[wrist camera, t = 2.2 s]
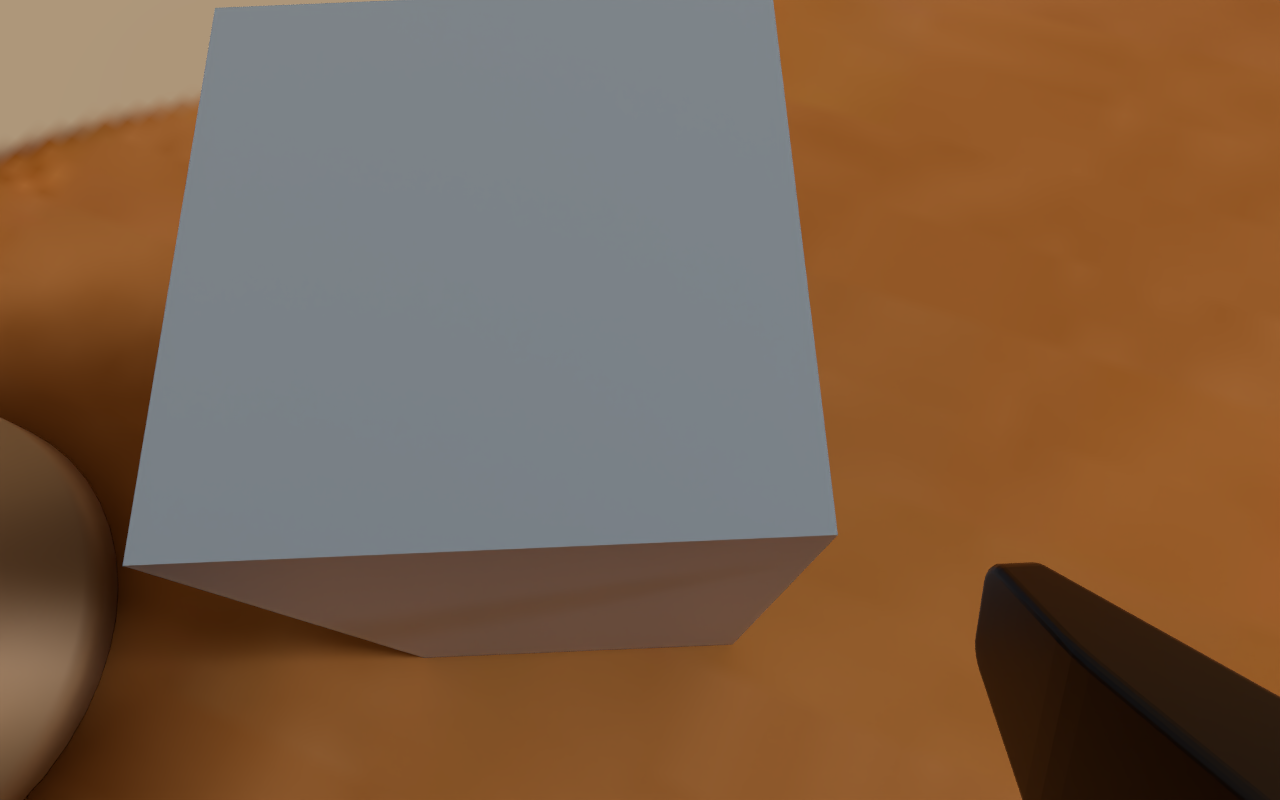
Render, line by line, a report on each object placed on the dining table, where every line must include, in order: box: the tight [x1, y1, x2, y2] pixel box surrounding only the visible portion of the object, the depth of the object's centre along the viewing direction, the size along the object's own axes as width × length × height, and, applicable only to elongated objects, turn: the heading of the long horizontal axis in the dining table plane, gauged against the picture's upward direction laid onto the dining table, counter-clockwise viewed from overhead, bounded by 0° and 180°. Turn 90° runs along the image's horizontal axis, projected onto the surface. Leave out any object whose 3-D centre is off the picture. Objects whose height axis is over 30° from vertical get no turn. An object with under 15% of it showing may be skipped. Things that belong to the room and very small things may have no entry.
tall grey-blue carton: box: [123, 0, 838, 658], centre depth 14 cm, size 6×6×11 cm
